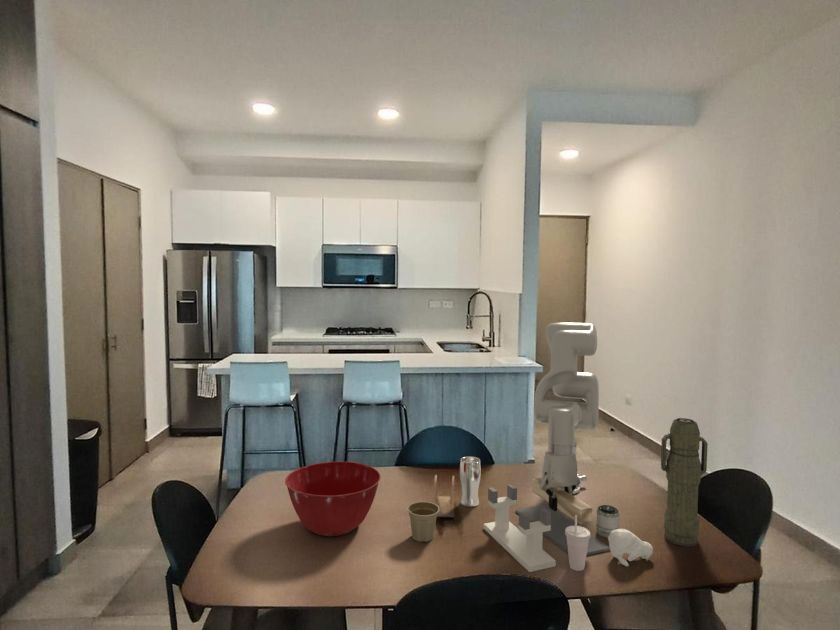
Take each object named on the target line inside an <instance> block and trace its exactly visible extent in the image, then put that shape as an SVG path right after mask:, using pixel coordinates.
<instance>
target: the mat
mask: <svg viewBox="0 0 840 630" xmlns="http://www.w3.org/2000/svg"><path fill="white" fill-rule="evenodd" d="M544 507H545V508H546V509H547V510H549V511H550V512H551V530H550V531H545V532H543V535H544V536H545V537H546V538H548V539H549V540H550V541H552V543H554V544H555V545H556V546H558V547H559V548H560V549H562V551H564V552H565V553H566V554H568V546H567V536H566V535H565V529H566V528H567V527H569V526H575V521H573V520H571V519H569V518H568V516H565V515H563V514H562V512H559V511H558V510H557V511H553V510H552V509H551V508H549V503H545V504H540V505H539V504H538V505H533V506H528V507H523V508H515V513H517V515H519V512H522V511H524V512H525V513H527V514H528V515H529V516H530V523H531V522H536V521H540V508H544ZM577 526H579V524H577ZM590 535H591V537H590V539H589V542H588V548H587V555H586V557H587V556H591V555H595V554H599V553H603V552H609V551H610V547H609V545H607V544H606V543H604V542H603V541H602V540H600V539H599V538H597V537H596V536H594V535H592V533H590Z"/></svg>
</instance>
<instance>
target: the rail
mask: <svg viewBox="0 0 840 630" xmlns="http://www.w3.org/2000/svg"><path fill="white" fill-rule="evenodd" d="M541 482H542V477H536V478H532V479H531V492H532V493H534V494H535V495H537V496H538V497H539V498H541V499H542V500H544V501H546V502H547V504H549V495H547V493H546V492H545V491H543V490H542V489H540V488H539V486H540V484H541ZM548 485H549V484H547V486H546V487H547V488H548ZM556 498H557V510H559V511H560V512H561V513H563V514H565V515H566V516H567V517H569V518H571V519H572V520H574V521H575V515H577V524H578V525H580V524H586V523H591V522H593V507H592V506H590V505H589V504H587V503H585V502H584V501H582V500H580V499H579V498H577V497H576V496H574V495H573V494H572V495H571V494H569V493H567V492H566V491H564V490H563V489H561V488H557V492H556Z"/></svg>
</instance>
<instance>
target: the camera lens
mask: <svg viewBox="0 0 840 630" xmlns="http://www.w3.org/2000/svg"><path fill="white" fill-rule="evenodd" d="M595 524H596V526H595V527H596V533H597V534H598V535H599V536H601V537H603V538H606V539H608V537H609V535H610V533H611V531H612V530H616V529H620V511H619V509H618V508H617V507H615V506H612V505H608V504H601V505H599V506H598V507H597V508H596V523H595Z"/></svg>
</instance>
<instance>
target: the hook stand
mask: <svg viewBox="0 0 840 630" xmlns="http://www.w3.org/2000/svg"><path fill="white" fill-rule="evenodd" d="M506 486H507V489H506V494H507V495H506V496H500V497H498V496H499V493H498V492H499V491H498V490H497V489H495V488H494V487H493V486H492V487H491V486H490V487H488V489H487V505H488V506H489V507H491V509H493V510H494V509H495V512H494V513H495V514H494V515H495V516H494V520H495V521H491V522H487V523H485V522H484V523H483V529H484V531H486V532H487V534H489V535H490V536H491V537H492V538H493V539H494V540H495V541H496V542H497V543H498V544H499V545H500V546H502V548H503V549H504V550H506V551H507V552H508V553H509V554H510V556H512V557H513V558H514V559H515V560H516V561H517V562H518V563H519V564H520V565H521V566H522V567H524V568H525V569H526V570H527V571H528V573H532V572H537V571H541V570H544V569H550V568H555V567H556V566H557V563H556V562H557V561H556V560H555V559H554V558H553V556H551V555H550V554H549V553H548V552H546V551H545V550H544V549H543V542H544V541H543V538H544V537H543V535H544V534H543V532H545V531H550V530H551V512H550V511H549V510H547V509H546V508H545V507H544V508H540V521H536V522H531V523H530V516H529V515H528V514H527V513H525V512H524V511H522V512H519V514H518V527H517V526H515V525H514V524H513V523H512V522H511V521H510V506H516V505H517V504H518V487H517V486H515V485H514V484H512V483H511V484H507V485H506Z"/></svg>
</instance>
